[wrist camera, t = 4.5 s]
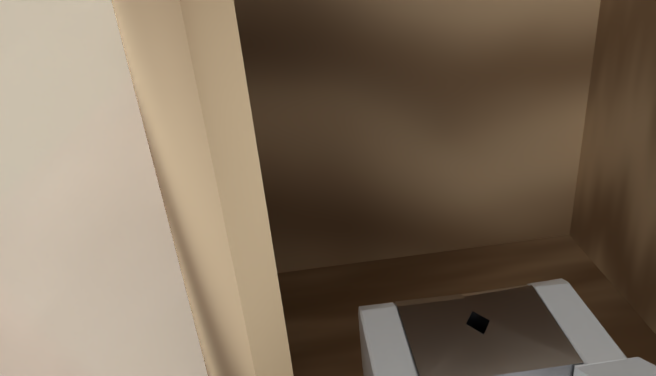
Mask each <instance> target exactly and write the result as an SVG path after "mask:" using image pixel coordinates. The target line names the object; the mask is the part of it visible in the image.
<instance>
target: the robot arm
mask: <svg viewBox="0 0 656 376" xmlns="http://www.w3.org/2000/svg"><path fill="white" fill-rule="evenodd" d="M358 319H359V331H360V344H361V356H362V367H363V375H364V376H656V365H654V364H652V363H650V362H648V361H646V360H644V359H642V358H640V357H633V358H627V357H626V356H625V354H624V353H623V352H622V351H621V349H620V348H619V347H618V345H617V344H616V343H615V342H614V340H613V339H612V338H611V336H610V335H609V334H608V333H607V331H606V330H605V329H604V327H603V326H602V325H601V324H600V322H599V321H598V320H597V318H596V317H595V316H594V315H593V313H592V312H591V311H590V309H589V308H588V307H587V305H586V304H585V303H584V302H583V300H582V299H581V298H580V296H579V295H578V294H577V293H576V291H575V290H574V289H573V287H572V286H571V285H570V284H569V282H567V281H566V280H564V279H562V278H560V279H554V280H548V281H542V282H535V283H529V284H527V285H520V286H513V287H507V288H500V289H493V290H486V291H479V292H472V293H465V294H457V295H448V296H439V297H430V298H422V299H413V300H404V301H395V302H394V304H393V302H391V303H383V304H374V305H366V306H359V309H358Z"/></svg>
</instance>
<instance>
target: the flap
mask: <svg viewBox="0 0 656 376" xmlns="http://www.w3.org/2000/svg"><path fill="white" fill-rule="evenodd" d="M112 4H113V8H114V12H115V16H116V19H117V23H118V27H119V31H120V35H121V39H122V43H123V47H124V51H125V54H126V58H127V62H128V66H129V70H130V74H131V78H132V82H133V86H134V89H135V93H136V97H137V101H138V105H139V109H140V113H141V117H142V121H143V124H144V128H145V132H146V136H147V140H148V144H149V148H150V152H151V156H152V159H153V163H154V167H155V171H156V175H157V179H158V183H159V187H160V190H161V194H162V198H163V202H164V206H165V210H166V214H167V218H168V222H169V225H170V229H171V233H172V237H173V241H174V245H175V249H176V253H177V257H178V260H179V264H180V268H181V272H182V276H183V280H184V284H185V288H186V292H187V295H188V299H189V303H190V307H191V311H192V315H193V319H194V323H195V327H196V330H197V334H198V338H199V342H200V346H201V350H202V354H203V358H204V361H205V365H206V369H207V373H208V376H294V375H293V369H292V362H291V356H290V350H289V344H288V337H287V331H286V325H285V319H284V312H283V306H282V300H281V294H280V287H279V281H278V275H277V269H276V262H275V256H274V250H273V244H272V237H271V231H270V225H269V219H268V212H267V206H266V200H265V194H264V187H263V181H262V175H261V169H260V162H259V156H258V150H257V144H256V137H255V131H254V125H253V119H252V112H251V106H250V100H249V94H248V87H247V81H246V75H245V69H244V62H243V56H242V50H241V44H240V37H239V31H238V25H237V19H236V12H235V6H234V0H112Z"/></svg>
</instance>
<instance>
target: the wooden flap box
mask: <svg viewBox="0 0 656 376" xmlns="http://www.w3.org/2000/svg"><path fill="white" fill-rule="evenodd" d="M234 6H235V12H236V19H237V25H238V31H239V37H240V44H241V50H242V56H243V62H244V69H245V75H246V81H247V87H248V94H249V100H250V106H251V112H252V119H253V125H254V131H255V137H256V144H257V150H258V156H259V162H260V169H261V175H262V181H263V187H264V194H265V200H266V206H267V212H268V219H269V225H270V231H271V237H272V244H273V250H274V256H275V262H276V269H277V275H278V281H279V287H280V294H281V300H282V306H283V312H284V319H285V325H286V331H287V337H288V344H289V350H290V356H291V362H292V369H293V375H294V376H364V375H363V367H362V356H361V344H360V331H359V319H358V309H359V306H366V305H374V304H383V303H391V302H393V304H394V302H395V301H404V300H413V299H422V298H430V297H439V296H448V295H457V294H465V293H472V292H479V291H486V290H493V289H500V288H507V287H513V286H520V285H527V284H529V283H535V282H542V281H548V280H554V279H560V278H562V279H564V280H566V281H567V282H569V284H570V285H571V286H572V287H573V289H574V290H575V291H576V293H577V294H578V295H579V296H580V298H581V299H582V300H583V302H584V303H585V304H586V305H587V307H588V308H589V309H590V311H591V312H592V313H593V315H594V316H595V317H596V318H597V320H598V321H599V322H600V324H601V325H602V326H603V327H604V329H605V330H606V331H607V333H608V334H609V335H610V336H611V338H612V339H613V340H614V342H615V343H616V344H617V345H618V347H619V348H620V349H621V351H622V352H623V353H624V354H625V356H626V357H627V358H633V357H640V358H642V359H644V360H646V361H648V362H650V363H652V364H654V365H656V0H234Z"/></svg>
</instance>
